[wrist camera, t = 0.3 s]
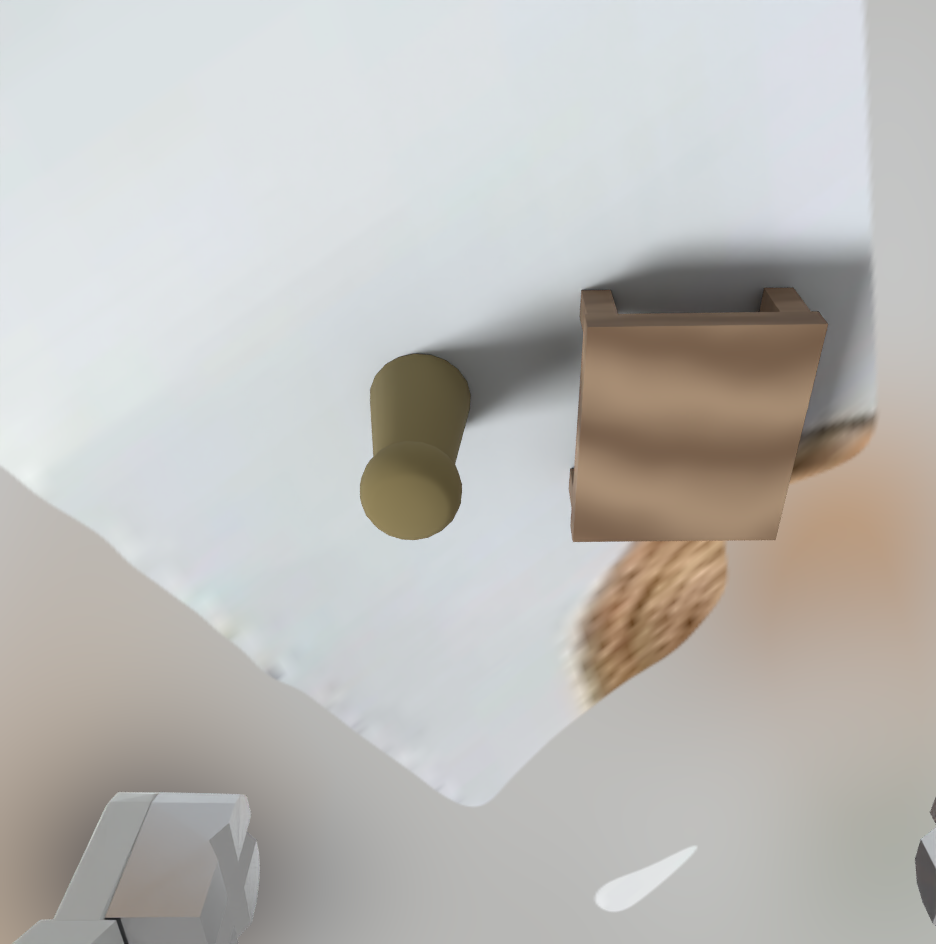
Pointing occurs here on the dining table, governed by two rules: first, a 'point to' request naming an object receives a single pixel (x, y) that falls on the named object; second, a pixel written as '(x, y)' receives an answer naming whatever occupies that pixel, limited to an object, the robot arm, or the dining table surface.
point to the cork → (415, 446)
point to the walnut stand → (690, 419)
